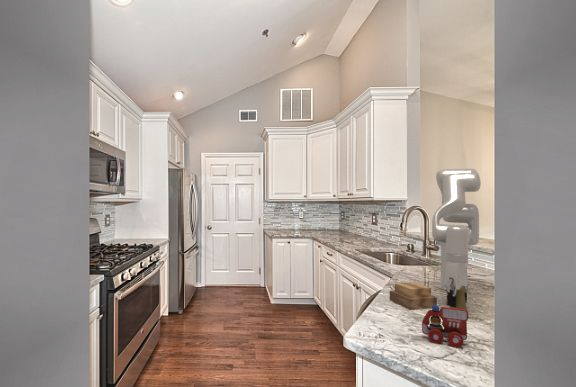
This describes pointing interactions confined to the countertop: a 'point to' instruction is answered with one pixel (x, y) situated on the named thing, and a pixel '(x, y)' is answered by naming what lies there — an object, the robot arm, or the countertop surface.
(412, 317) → the countertop surface
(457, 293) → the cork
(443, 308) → the toy fire truck
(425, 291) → the stepped wooden base
